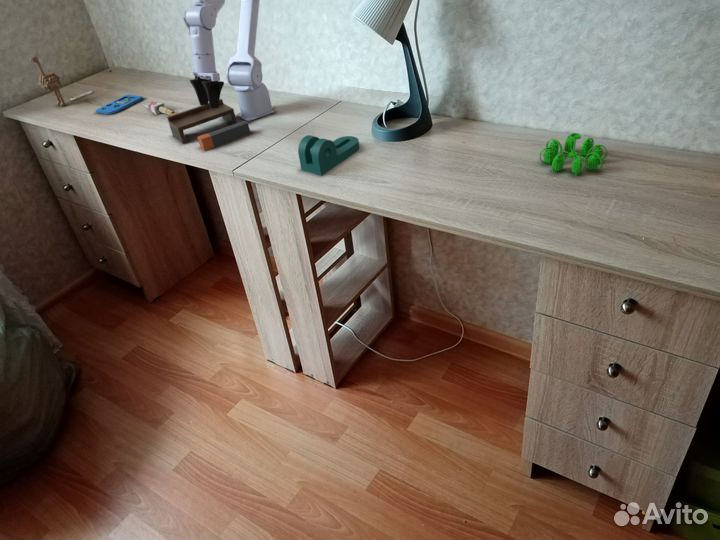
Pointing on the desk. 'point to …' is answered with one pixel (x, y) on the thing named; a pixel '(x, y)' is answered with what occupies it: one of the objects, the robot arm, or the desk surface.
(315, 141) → the bracket
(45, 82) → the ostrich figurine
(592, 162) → the chandelier
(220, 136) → the marker
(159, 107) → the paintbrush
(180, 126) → the shelf
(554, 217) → the desk surface
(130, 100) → the handheld gaming device
